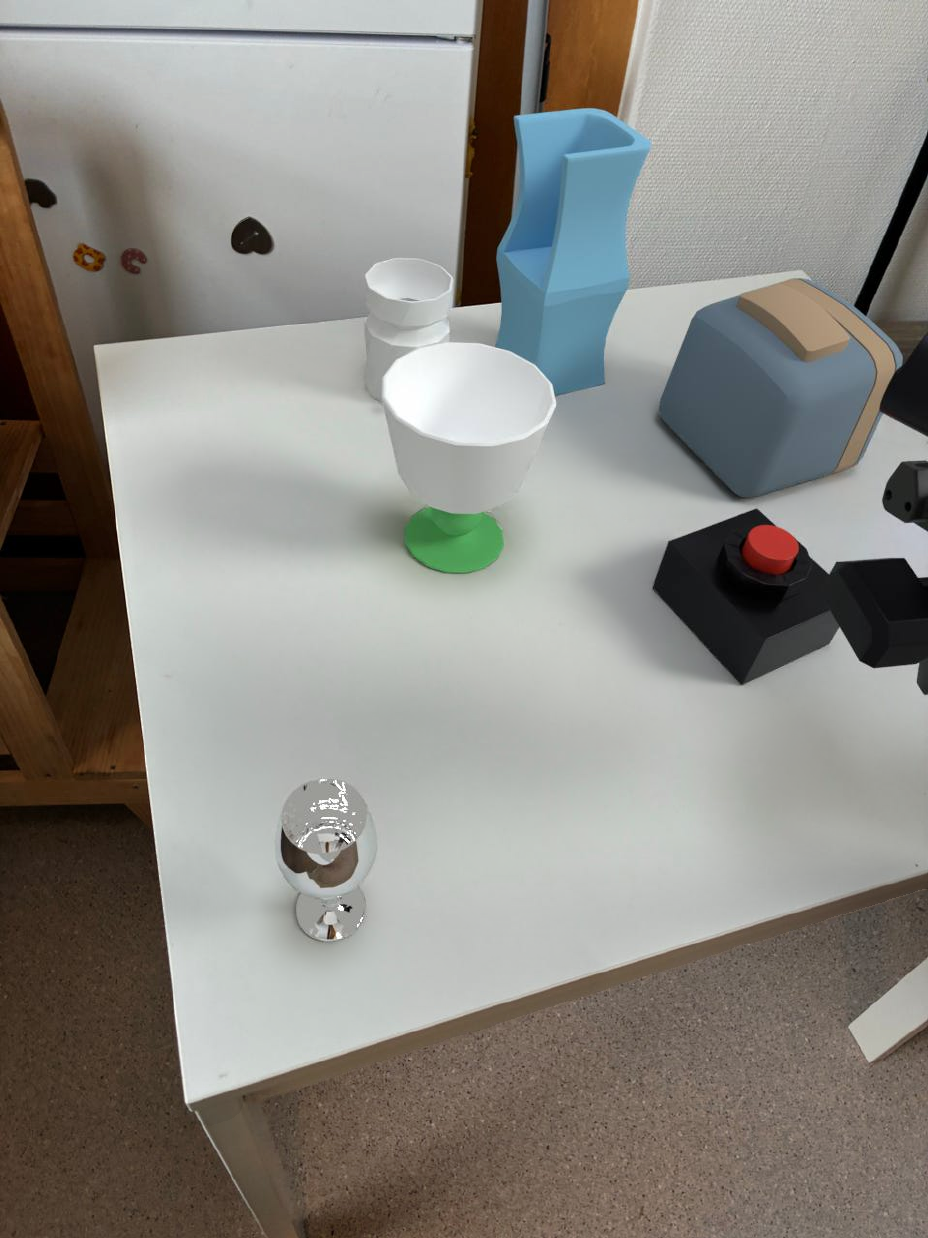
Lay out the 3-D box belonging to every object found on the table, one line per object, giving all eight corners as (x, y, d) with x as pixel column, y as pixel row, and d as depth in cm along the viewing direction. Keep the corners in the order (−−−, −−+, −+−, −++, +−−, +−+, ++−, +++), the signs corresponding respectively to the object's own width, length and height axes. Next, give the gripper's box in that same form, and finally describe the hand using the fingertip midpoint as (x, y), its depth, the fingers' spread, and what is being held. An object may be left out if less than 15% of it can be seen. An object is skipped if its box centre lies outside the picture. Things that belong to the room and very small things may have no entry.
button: (801, 565, 72) (809, 550, 71) (764, 581, 71) (772, 565, 70) (767, 534, 75) (774, 519, 73) (731, 549, 73) (737, 533, 72)
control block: (829, 644, 77) (866, 583, 71) (741, 685, 73) (772, 625, 67) (737, 554, 83) (763, 491, 78) (651, 587, 79) (673, 525, 74)
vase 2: (485, 353, 102) (512, 115, 83) (559, 337, 105) (601, 105, 87) (528, 402, 96) (567, 158, 78) (605, 383, 100) (660, 146, 81)
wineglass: (302, 967, 55) (289, 880, 46) (273, 885, 59) (257, 790, 50) (389, 930, 57) (393, 841, 48) (357, 853, 61) (355, 756, 52)
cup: (365, 496, 84) (365, 346, 72) (505, 481, 87) (527, 335, 76) (395, 603, 76) (400, 453, 64) (548, 582, 79) (581, 435, 67)
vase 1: (386, 416, 93) (388, 310, 84) (351, 371, 97) (349, 266, 88) (460, 397, 96) (470, 292, 87) (422, 354, 101) (428, 251, 92)
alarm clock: (864, 472, 93) (937, 334, 81) (739, 511, 87) (797, 369, 75) (764, 385, 102) (817, 250, 90) (646, 415, 97) (685, 274, 85)
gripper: (1125, 401, 52) (984, 584, 64) (833, 413, 49) (741, 605, 60) (1269, 535, 45) (1080, 714, 57) (939, 560, 42) (811, 745, 53)
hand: (925, 688), depth 57 cm, fingers closed
